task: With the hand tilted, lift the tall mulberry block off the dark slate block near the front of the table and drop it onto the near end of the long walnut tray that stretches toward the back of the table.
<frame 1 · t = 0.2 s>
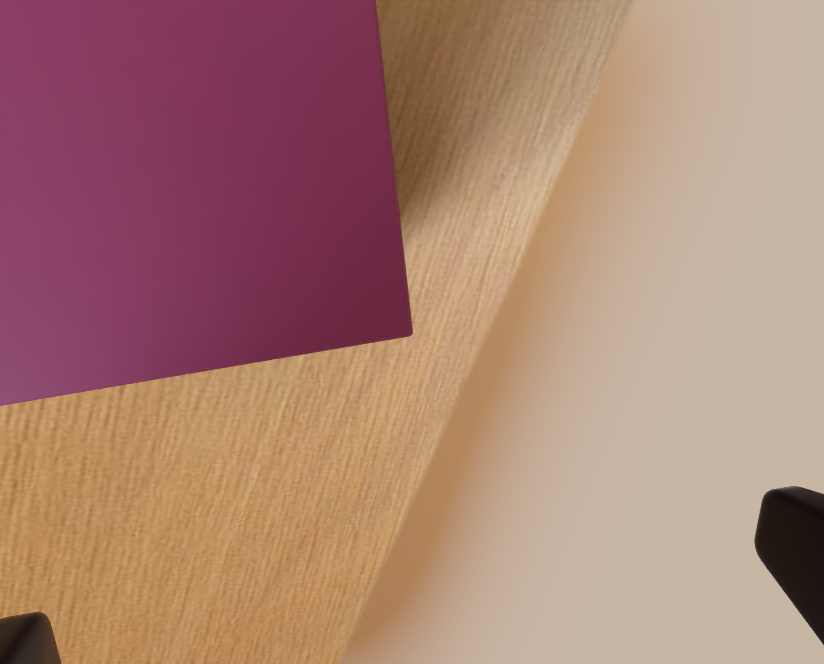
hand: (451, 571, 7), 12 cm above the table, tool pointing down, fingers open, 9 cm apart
mulberry block: (223, 162, 13), point 4 cm above the table, touching slate block
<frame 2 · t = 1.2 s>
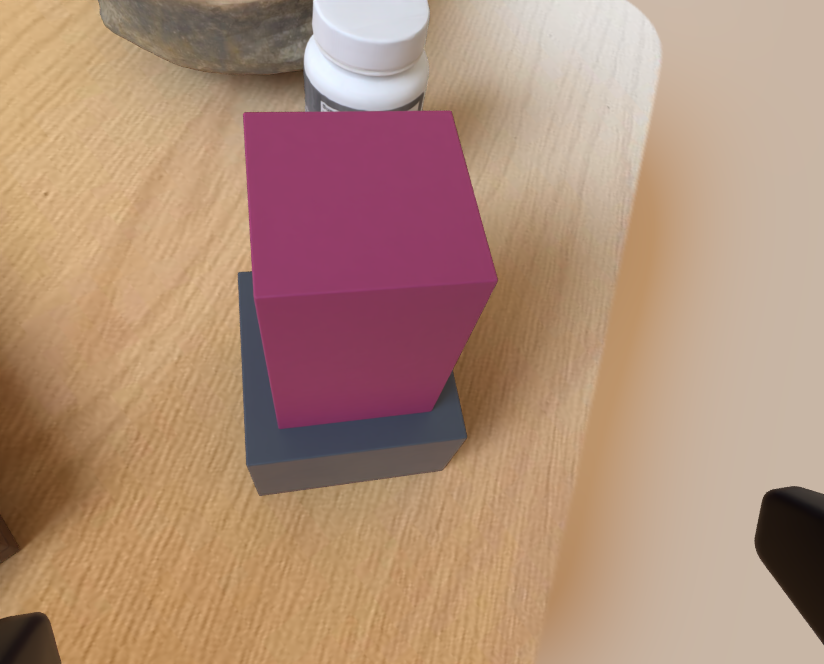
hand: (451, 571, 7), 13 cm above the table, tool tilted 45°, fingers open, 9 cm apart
mulberry block: (348, 351, 18), point 4 cm above the table, touching slate block
slate block: (343, 396, 22), on the table, touching mulberry block
pill bottle: (357, 176, 27), on the table
bowl: (237, 14, 31), on the table
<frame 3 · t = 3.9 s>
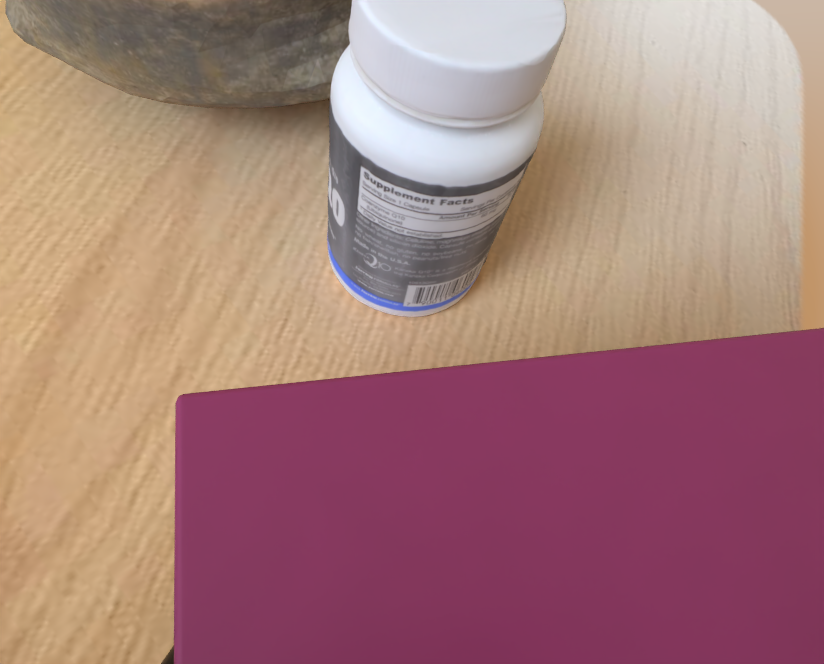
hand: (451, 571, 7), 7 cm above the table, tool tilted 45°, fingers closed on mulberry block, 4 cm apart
pill bottle: (402, 258, 18), on the table
bowl: (223, 14, 22), on the table
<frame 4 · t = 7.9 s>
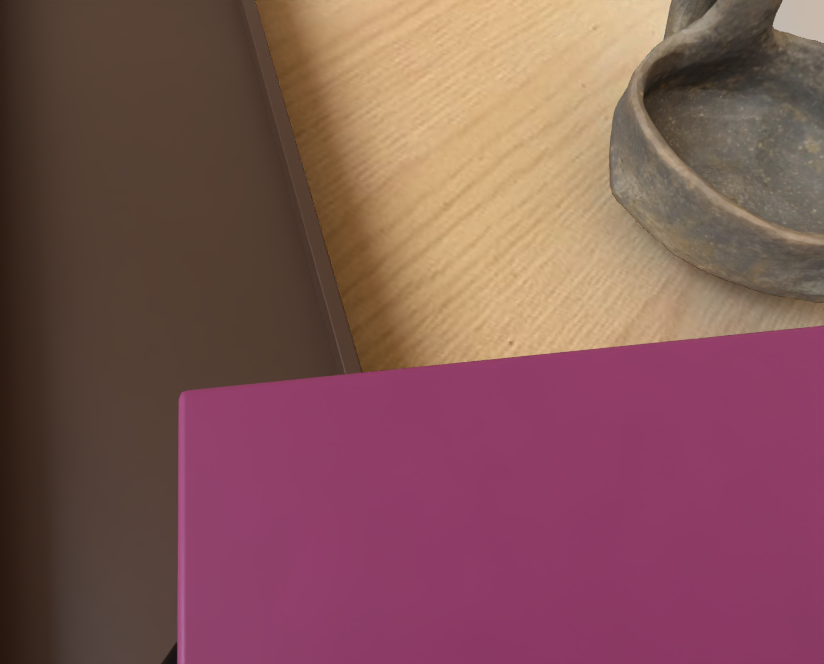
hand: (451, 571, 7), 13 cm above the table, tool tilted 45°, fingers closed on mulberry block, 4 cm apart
tray: (157, 234, 24), on the table
bowl: (696, 187, 30), on the table
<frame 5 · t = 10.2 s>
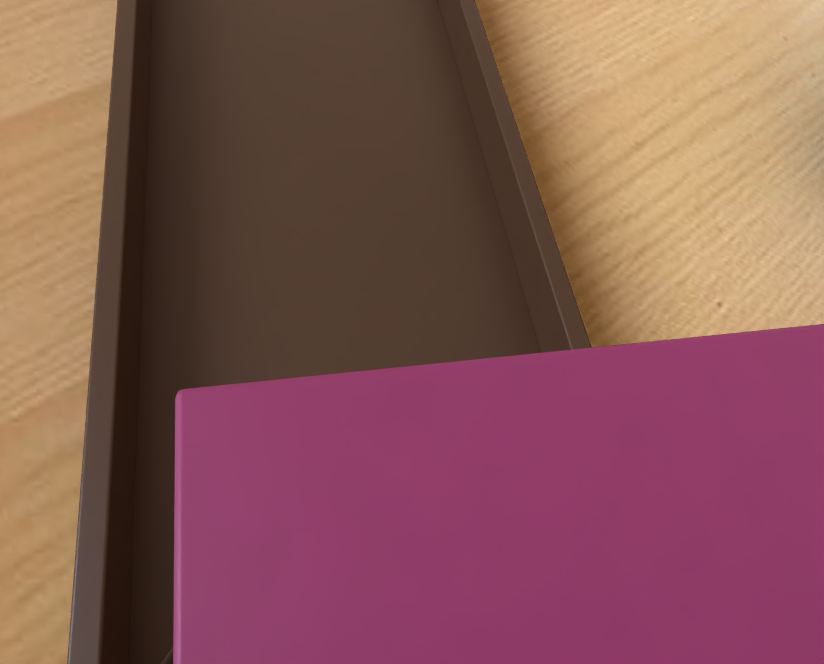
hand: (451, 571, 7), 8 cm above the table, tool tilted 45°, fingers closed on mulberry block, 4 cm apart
tray: (318, 135, 21), on the table
when the fingers open (4 cm above the table, at t = 11.9 s): mulberry block stays where it is, resting on tray.
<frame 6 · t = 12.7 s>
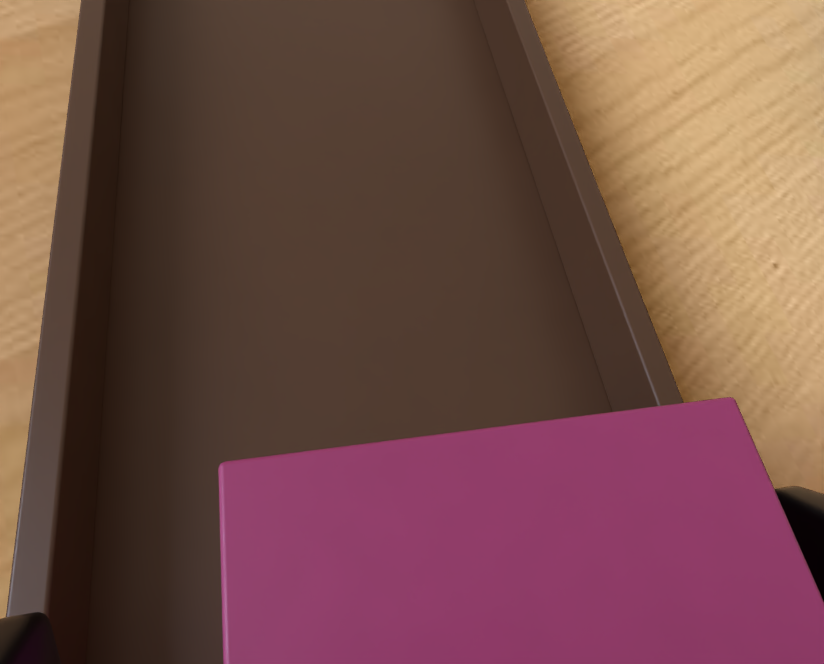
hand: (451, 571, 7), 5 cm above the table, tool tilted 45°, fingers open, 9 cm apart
tray: (320, 77, 18), on the table
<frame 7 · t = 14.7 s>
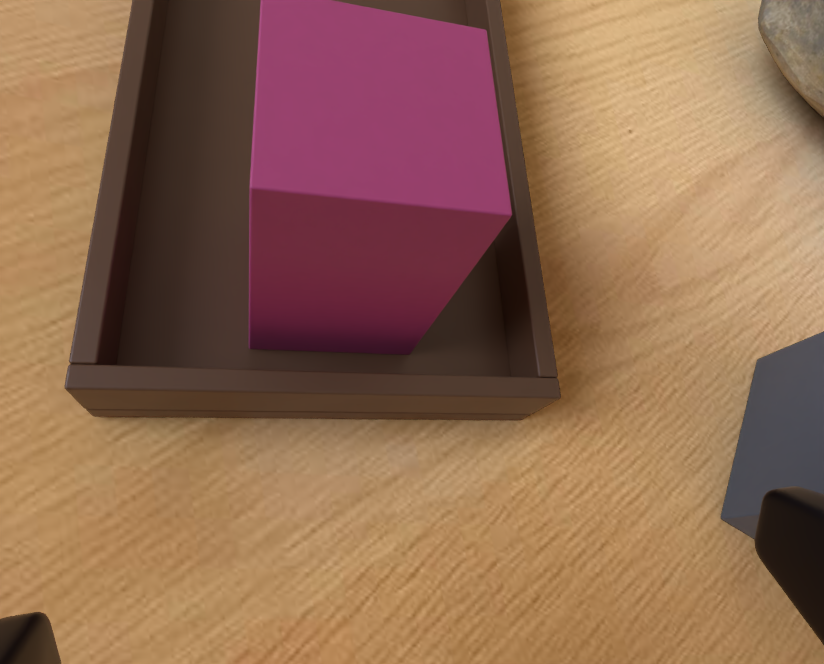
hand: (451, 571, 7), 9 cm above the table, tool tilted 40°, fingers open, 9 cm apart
mulberry block: (331, 280, 17), point 1 cm above the table, touching tray
slate block: (817, 480, 20), on the table
bowl: (823, 73, 30), on the table
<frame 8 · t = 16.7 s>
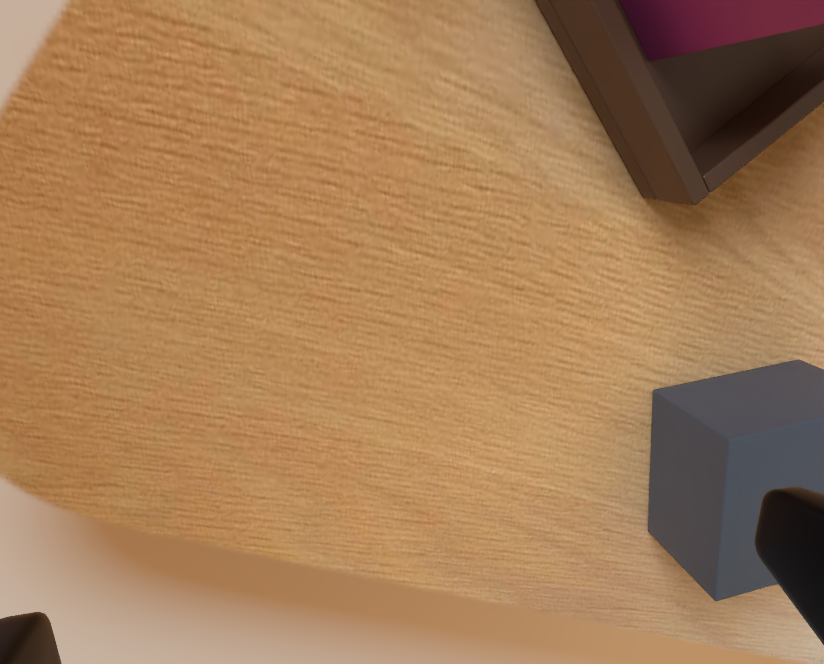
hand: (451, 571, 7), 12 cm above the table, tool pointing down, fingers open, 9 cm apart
slate block: (721, 447, 24), on the table
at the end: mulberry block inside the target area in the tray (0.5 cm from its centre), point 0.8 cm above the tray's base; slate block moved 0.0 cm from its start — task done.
